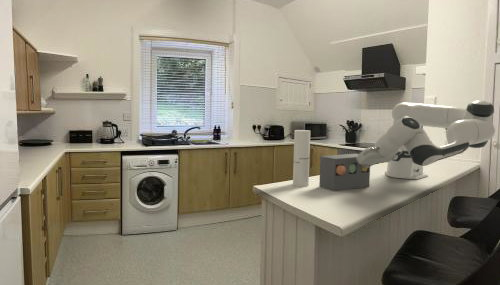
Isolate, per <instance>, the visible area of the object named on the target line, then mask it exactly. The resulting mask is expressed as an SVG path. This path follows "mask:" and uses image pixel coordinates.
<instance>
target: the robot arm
mask: <svg viewBox="0 0 500 285" xmlns="http://www.w3.org/2000/svg"><path fill="white" fill-rule="evenodd" d="M494 113H495V107H494V105H493V104H492V103H491V102H489V101H485V100H482V99H481V100H474V101H471V102H469V103H468V104H467V107H466V108H462V107H458V106H457V107H456V106H451V105H450V106H449V105H439V104H428V103H427V104H426V103H418V102H417V103H416V102H405V101H404V102H399V103H397V104H396V105H394V107H393V108H392V111H391V116H392V119H393V121H392V122H393V123H392V125H391V126H390V127H389V128H388V130H387V131H386V133H384V134H383V135H381V136H380V137H379V138H378V139H377V140H376V141H375V143H374V147H367V148H365V149H364V150H362V151H361V152H360V153H358V154H359V155H358V156H357V157H356V160H357V162H358V163H359V164H360V165H362V164H364V165H363V167H364V168H370V169H371V167H372V166H374V165H376V164H383V163H387V165H386V166H387V167H386V171H384V174H385V175H386V176H387V177H389V178H390V177H391V178H397V179H408V180H409V179H410V180H420V179H422V178H427V177H428V176H429V174H427V173H425V172H424V167H425V166H426V167H427V166H428V165H431V164H433V163H435V162H439V161H441V160H444V159H447V158H450V157H455V156H456V155H459V154H462V153H464V152H465V151H467V149H469V148H472V149H480V148H484V147H486V145H487V143H488V142H489V140H491V139H492V138H493V137H494V136H495V132H496V129H495V125H494V124H493V118H494ZM423 127H430V128H431V127H432V128H437V129H438V128H439V129H447V130H446V136H445V137H446V141H447V143H448V144H446V145H442V146H437V145H436V144H434V143H433V141H432V140H431V139H430V137H429V136H428V133H427V132H426V131H425V129H424V128H423Z"/></svg>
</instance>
